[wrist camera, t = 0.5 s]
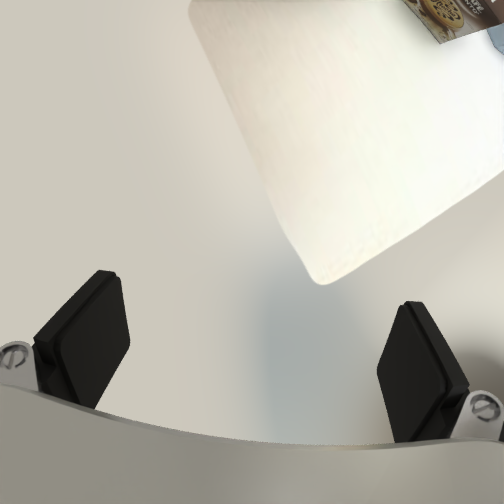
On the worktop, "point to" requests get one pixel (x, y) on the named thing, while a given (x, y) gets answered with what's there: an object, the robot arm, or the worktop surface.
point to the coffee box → (457, 16)
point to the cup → (497, 36)
